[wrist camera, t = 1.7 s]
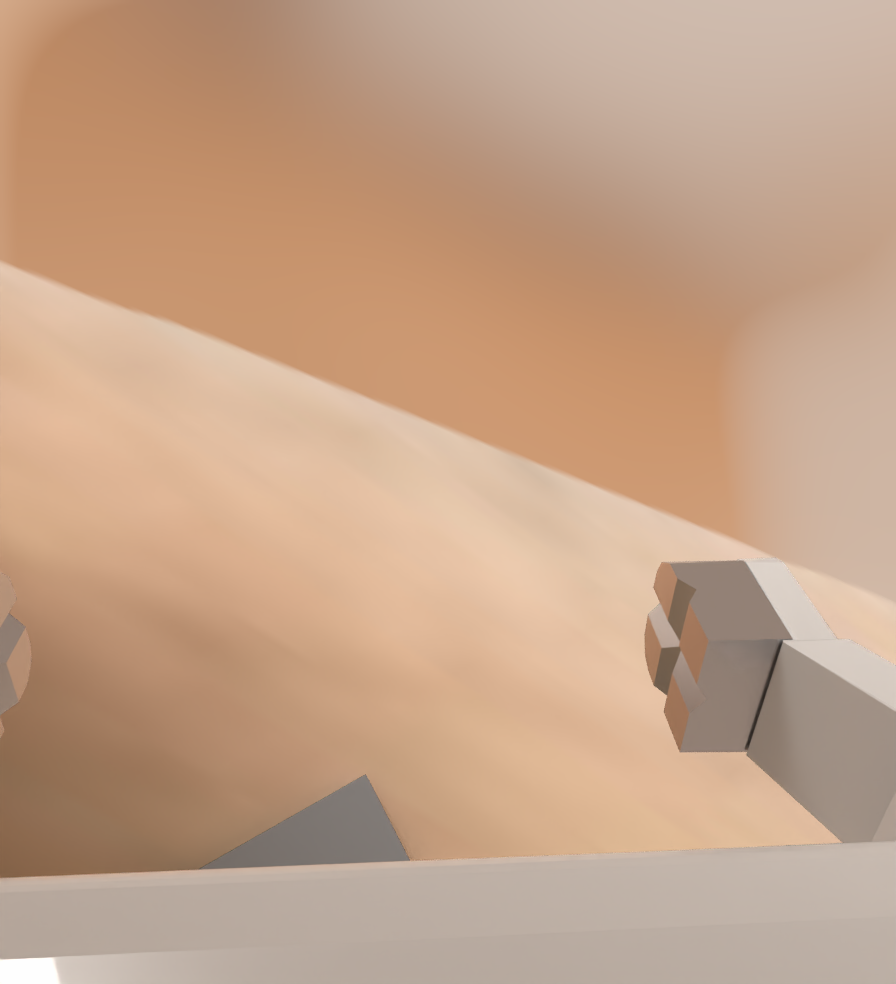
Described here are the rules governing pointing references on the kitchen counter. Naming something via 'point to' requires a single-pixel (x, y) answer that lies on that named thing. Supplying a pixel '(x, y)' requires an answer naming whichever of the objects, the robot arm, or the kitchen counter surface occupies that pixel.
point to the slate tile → (324, 834)
